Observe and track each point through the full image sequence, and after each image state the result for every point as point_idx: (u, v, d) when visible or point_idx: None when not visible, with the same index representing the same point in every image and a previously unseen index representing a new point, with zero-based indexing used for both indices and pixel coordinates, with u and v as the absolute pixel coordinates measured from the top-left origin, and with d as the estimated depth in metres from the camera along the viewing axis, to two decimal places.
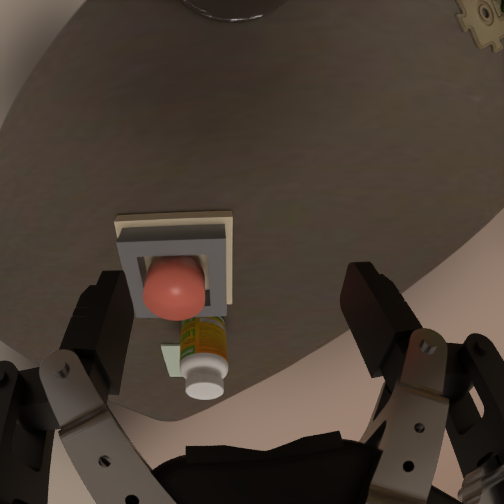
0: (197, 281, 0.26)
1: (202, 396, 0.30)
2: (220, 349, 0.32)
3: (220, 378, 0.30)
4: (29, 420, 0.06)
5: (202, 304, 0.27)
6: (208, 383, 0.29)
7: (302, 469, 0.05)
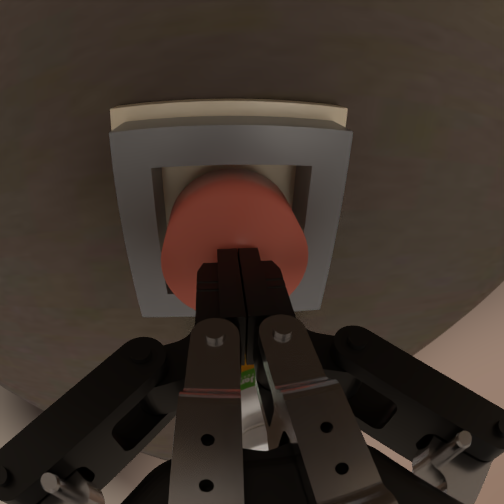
0: (296, 219, 0.11)
1: None
2: None
3: None
4: (150, 404, 0.07)
5: (298, 277, 0.12)
6: None
7: (302, 469, 0.05)
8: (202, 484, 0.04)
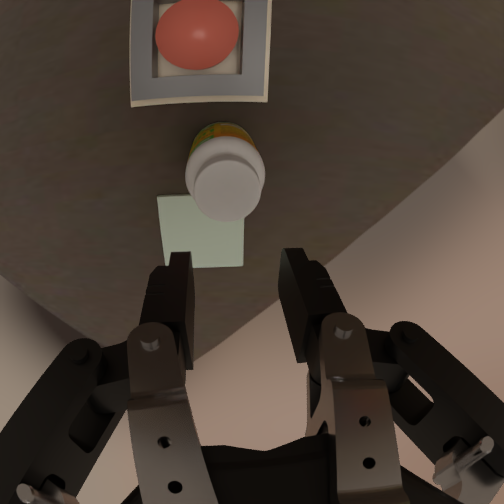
0: (230, 11, 0.16)
1: (222, 208, 0.18)
2: (253, 145, 0.21)
3: (255, 172, 0.19)
4: (98, 403, 0.07)
5: (234, 40, 0.17)
6: (236, 162, 0.17)
7: (302, 469, 0.05)
8: (171, 487, 0.04)
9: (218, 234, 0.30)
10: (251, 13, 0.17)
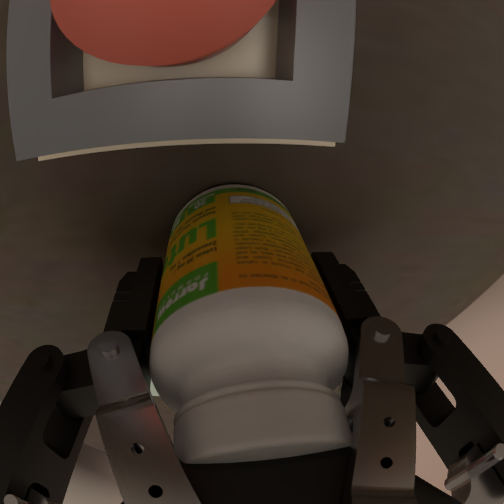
0: None
1: None
2: (321, 285, 0.08)
3: (341, 404, 0.06)
4: (67, 407, 0.06)
5: None
6: (303, 443, 0.05)
7: (302, 469, 0.05)
8: (152, 492, 0.04)
9: None
10: None
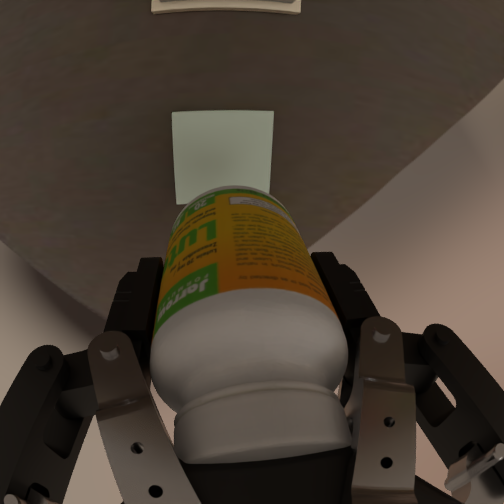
0: None
1: None
2: (321, 286, 0.08)
3: (340, 405, 0.06)
4: (67, 408, 0.06)
5: None
6: (302, 444, 0.05)
7: (302, 469, 0.05)
8: (152, 492, 0.04)
9: (242, 160, 0.25)
10: None
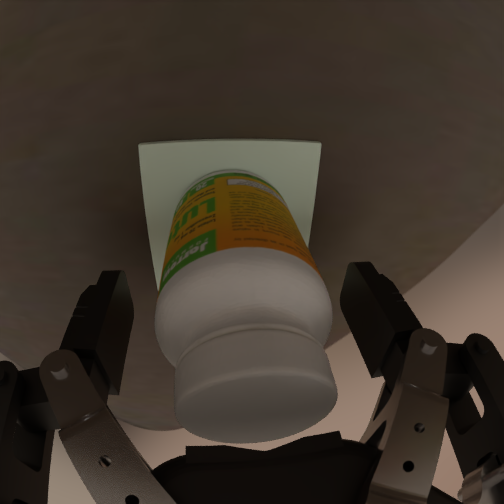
0: None
1: (245, 433, 0.07)
2: (307, 252, 0.09)
3: (324, 353, 0.07)
4: (29, 420, 0.06)
5: None
6: (287, 374, 0.06)
7: (302, 469, 0.05)
8: (129, 502, 0.04)
9: None
10: None
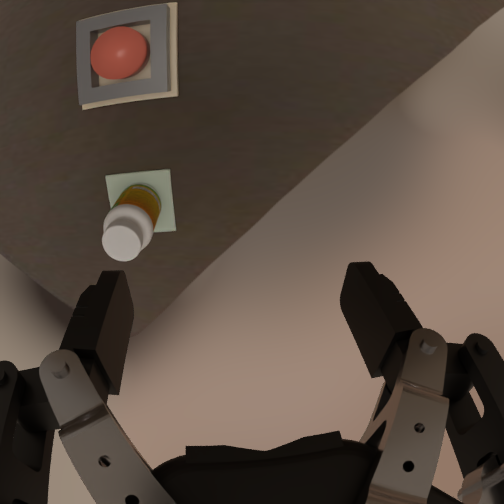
0: (139, 33, 0.22)
1: (120, 253, 0.28)
2: (145, 206, 0.30)
3: (139, 229, 0.28)
4: (29, 420, 0.06)
5: (141, 55, 0.23)
6: (122, 226, 0.27)
7: (302, 469, 0.05)
8: (130, 502, 0.04)
9: None
10: (155, 32, 0.23)
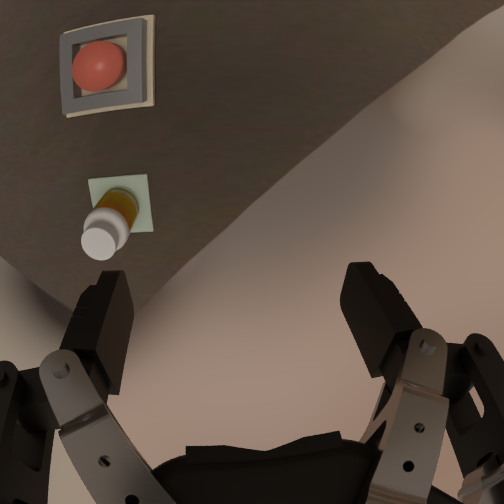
0: (116, 47, 0.24)
1: (97, 253, 0.30)
2: (121, 209, 0.32)
3: (114, 231, 0.30)
4: (29, 420, 0.06)
5: (118, 68, 0.25)
6: (98, 229, 0.28)
7: (302, 469, 0.05)
8: (130, 502, 0.04)
9: None
10: (131, 46, 0.24)
